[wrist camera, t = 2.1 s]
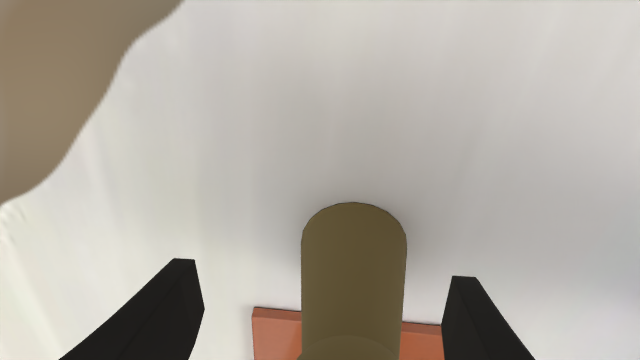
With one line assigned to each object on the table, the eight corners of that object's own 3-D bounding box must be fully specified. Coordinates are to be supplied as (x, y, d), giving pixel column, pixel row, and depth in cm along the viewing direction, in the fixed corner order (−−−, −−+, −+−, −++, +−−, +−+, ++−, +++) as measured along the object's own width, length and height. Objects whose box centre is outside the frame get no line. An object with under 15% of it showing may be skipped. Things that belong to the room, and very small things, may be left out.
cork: (424, 221, 23) (465, 429, 14) (383, 294, 26) (394, 502, 17) (318, 188, 23) (286, 382, 13) (289, 267, 26) (247, 467, 17)
